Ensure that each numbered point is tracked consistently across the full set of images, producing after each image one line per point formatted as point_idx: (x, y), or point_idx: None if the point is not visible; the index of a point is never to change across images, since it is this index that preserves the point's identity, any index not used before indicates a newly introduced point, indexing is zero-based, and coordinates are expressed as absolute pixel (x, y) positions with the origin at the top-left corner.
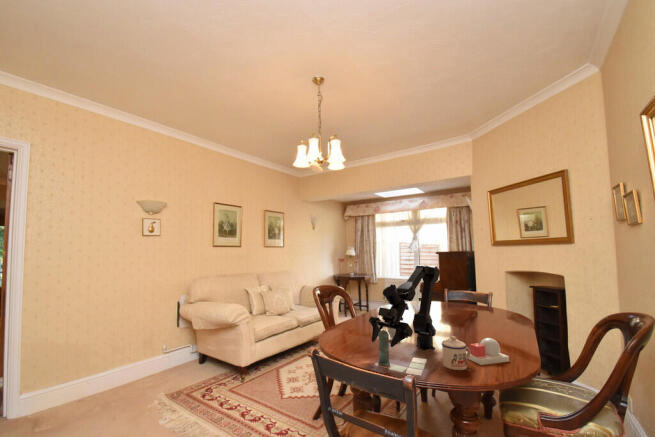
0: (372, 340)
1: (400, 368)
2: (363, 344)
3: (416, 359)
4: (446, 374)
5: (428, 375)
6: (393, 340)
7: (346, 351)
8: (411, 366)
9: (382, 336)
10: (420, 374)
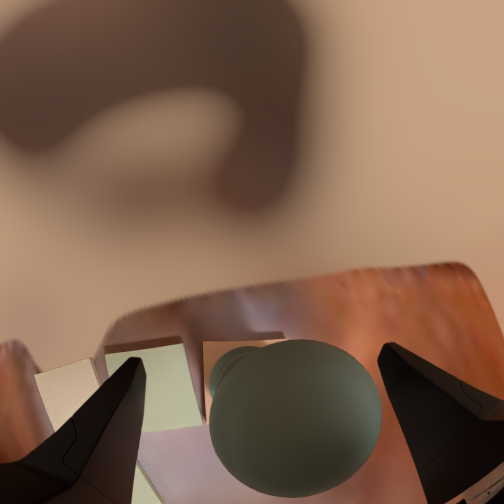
0: (386, 344)
1: None
2: None
3: None
4: (9, 459)
5: (32, 414)
6: (100, 394)
7: (476, 354)
8: None
9: (258, 352)
10: (39, 385)
